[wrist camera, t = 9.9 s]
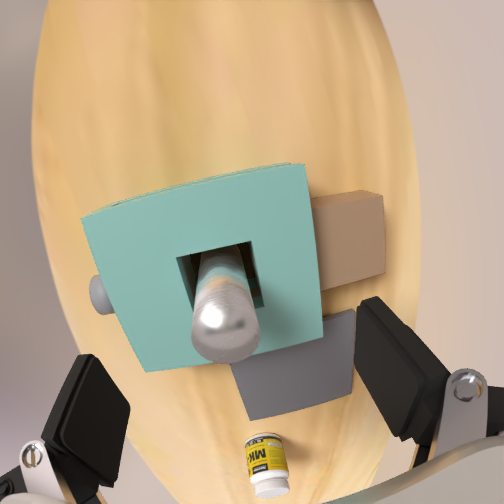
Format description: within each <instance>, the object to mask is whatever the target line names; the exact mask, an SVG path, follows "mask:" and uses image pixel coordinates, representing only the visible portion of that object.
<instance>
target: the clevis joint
mask: <svg viewBox="0 0 504 504" xmlns="http://www.w3.org/2000/svg"><path fill="white" fill-rule="evenodd" d="M81 221H82V224H83V227H84V231H85V234H86V237H87V240H88V243H89V246H90V249H91V252H92V255H93V258H94V261H95V264H96V266H97V269H98V272H99V274H100V275H95V276H93V277H92V279H91V281H90V286H89V292H90V298H91V302H92V304H93V306H94V308H95V310H96V311H97V312H98V313H99V314H101V315H106V314H111V313H116V315H117V317H118V320H119V322H120V324H121V326H122V328H123V330H124V332H125V334H126V336H127V338H128V340H129V342H130V344H131V346H132V348H133V350H134V352H135V354H136V356H137V358H138V360H139V362H140V363H141V365H142V367H143V369H144V371H145V372H153V371H161V370H169V369H176V368H183V367H190V366H196V365H203V364H208V363H214V362H212V361H209V360H207V359H205V358H204V357H202V356H201V355H200V354H199V353H198V352H197V351H196V350H195V348H194V347H193V344H192V341H191V330H192V321H193V313H194V305H195V297H196V289H197V280H196V277H195V273H194V270H193V267H192V263H191V259H190V256H189V254H193V253H198V252H202V251H207V250H211V249H216V248H220V247H225V246H229V245H234V244H238V243H243V242H247V241H248V244H249V249H250V254H251V259H252V264H253V269H254V274H255V278H253V279H248V280H247V281H248V285H249V289H250V293H251V297H252V300H253V304H254V308H255V312H256V316H257V320H258V324H259V328H260V332H261V339H260V343H259V346H258V347H257V349H256V350H255V352H254V353H253V354H252V355H254V354H259V353H263V352H268V351H272V350H276V349H280V348H284V347H288V346H292V345H296V344H300V343H303V342H307V341H311V340H314V339H318V338H321V337H323V322H322V307H321V294H320V291H322V290H326V289H329V288H333V287H337V286H340V285H344V284H348V283H351V282H355V281H358V280H362V279H365V278H369V277H372V276H375V275H379V274H382V273H385V223H384V204H383V196H382V195H378V194H375V193H371V192H368V191H364V190H361V191H354V192H349V193H343V194H337V195H331V196H325V197H320V198H314V199H310V197H309V190H308V183H307V177H306V170H305V164H291V163H280V164H274V165H269V166H263V167H258V168H252V169H247V170H242V171H237V172H232V173H228V174H223V175H218V176H214V177H209V178H205V179H201V180H196V181H192V182H188V183H184V184H180V185H176V186H172V187H168V188H164V189H161V190H157V191H153V192H150V193H146V194H143V195H139V196H136V197H132V198H129V199H126V200H122V201H119V202H116V203H113V204H110V205H107V206H105V207H103V208H100V209H98V210H96V211H94V212H92V213H90V214H89V215H87V216H85V217H83V218H81Z"/></svg>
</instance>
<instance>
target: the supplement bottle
mask: <svg viewBox="0 0 504 504" xmlns="http://www.w3.org/2000/svg"><path fill="white" fill-rule="evenodd" d="M245 448H246V456H247V463H248V470H249V478H250V481H251V483H252V484H254V491H255V495H256V496H257V497H259V498H272V497H277V496H281V495H284V494H286V493H288V492H289V490H290V489H289V484H288V481H287V479H288V477H289V470H288V467H287V462H286V458H285V454H284V450H283V446H282V442H281V438H280V437H279V436H278V435H276V434H272V433H262V434H257V435H254V436H252V437H250V438H249V439H248V440H247V441H246V443H245Z"/></svg>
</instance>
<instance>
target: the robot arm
mask: <svg viewBox="0 0 504 504" xmlns="http://www.w3.org/2000/svg"><path fill="white" fill-rule="evenodd" d="M354 364H355V368H356V370H357V372H358V373H359V375H360V377H361V379H362V380H363V382H364V384H365V386H366V387H367V389H368V391H369V393H370V394H371V396H372V398H373V400H374V402H375V403H376V405H377V407H378V409H379V411H380V412H381V414H382V416H383V418H384V420H385V421H386V423H387V425H388V427H389V429H390V431H391V432H392V434H393V435H394V436H395V437H398V436H399V437H400V439H401V441H402V442H403V441H405V440H407V439H409V438H411V437H412V438H413V440H414V442H415V443H416V444H417V445H416V449H415V452H414V455H413V459H412V462H411V465H410V468H409V471H407V472H405V473H403V474H401V475H399V476H396V477H395V478H392V479H390V480H387V481H385V482H383V483H380V484H378V485H375V486H373V487H370V488H368V489H365V490H362V491H360V492H357V493H354V494H351V495H349V496H346V497H343V498H340V499H336V500H333V501H330V502H326V503H323V504H504V388H502V387H493V386H487V382H486V380H485V378H484V376H483V375H482V374H480V373H479V372H477V371H475V370H473V369H468V368H467V369H460V370H457V371H455V372H454V373H453V374H451V373H450V372H449V371H448V370H447V369H446V368H445V366H444V365H443V364H442V363H441V362H440V360H439V359H438V358H437V357H436V356H435V355H434V354H433V352H432V351H431V350H430V349H429V348H428V347H427V346H426V345H425V344H424V342H423V341H422V340H421V339H420V338H419V337H418V336H417V335H416V334H415V333H414V331H413V330H412V329H411V328H410V327H409V326H407V325H405V324H404V323H403V322H402V321H401V320H400V319H399V318H398V317H397V316H396V315H395V314H394V312H393V311H392V310H391V309H390V308H389V307H388V306H387V305H386V304H385V303H384V302H383V301H382V300H381V299H380V298H379V297H378V296H375V297H372V298H369V299H365V300H362V301H361V304H360V306H358V307H357V312H356V337H355V353H354ZM129 415H130V405H129V402H128V401H127V400H126V398H125V397H124V396H123V394H122V393H121V391H120V390H119V389H118V387H117V386H116V384H115V383H114V381H113V380H112V379H111V377H110V376H109V374H108V373H107V371H106V369H105V368H104V366H103V365H102V363H101V362H100V360H99V359H98V358H96V357H95V356H94V355H93V354H83V355H78V356H77V358H76V360H75V362H74V364H73V366H72V368H71V370H70V372H69V374H68V376H67V378H66V380H65V382H64V384H63V386H62V388H61V390H60V393H59V395H58V397H57V399H56V402H55V404H54V406H53V408H52V411H51V413H50V415H49V418H48V420H47V422H46V425H45V427H44V430H43V432H42V435H41V438H42V439H43V440H44V441H45V444H42V443H41V442H40V441H37V440H32V441H29V442H28V443H26V444H25V445H24V446H23V448H22V449H21V451H20V455H19V462H20V465H19V466H17V467H16V468H14V469H12V470H11V471H9V472H8V473H6V474H4V475H3V476H1V477H0V504H107V502H106V500H105V499H104V497H103V496H102V494H101V492H100V491H99V489H98V487H99V484H100V485H101V486H106V487H111V488H113V487H114V482H115V481H116V480H117V478H118V472H119V466H120V460H121V455H122V449H123V444H124V439H125V434H126V429H127V424H128V419H129Z"/></svg>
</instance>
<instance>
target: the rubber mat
mask: <svg viewBox="0 0 504 504" xmlns="http://www.w3.org/2000/svg"><path fill="white" fill-rule="evenodd" d="M322 322H323V337H321V338H318V339H314V340H311V341H307V342H303V343H300V344H296V345H292V346H288V347H284V348H280V349H276V350H272V351H268V352H263V353H259V354H254V355H250V356H249V357H247V358H246V359H244V360H242V361H239V362H235V363H230V366H231V369H232V372H233V375H234V378H235V380H236V383H237V386H238V389H239V392H240V395H241V397H242V400H243V403H244V406H245V408H246V411H247V414H248V416H249V419H250V421H253V420H258V419H263V418H267V417H272V416H276V415H281V414H285V413H289V412H293V411H297V410H300V409H304V408H308V407H311V406H315V405H318V404H321V403H325V402H328V401H331V400H334V399H337V398H340V397H343V396H346V395H349V394H351V388H352V375H353V360H354V336H355V311H354V310H353V309H350V310H347V311H343V312H340V313H336V314H333V315H330V316H326V317H323V318H322Z"/></svg>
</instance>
